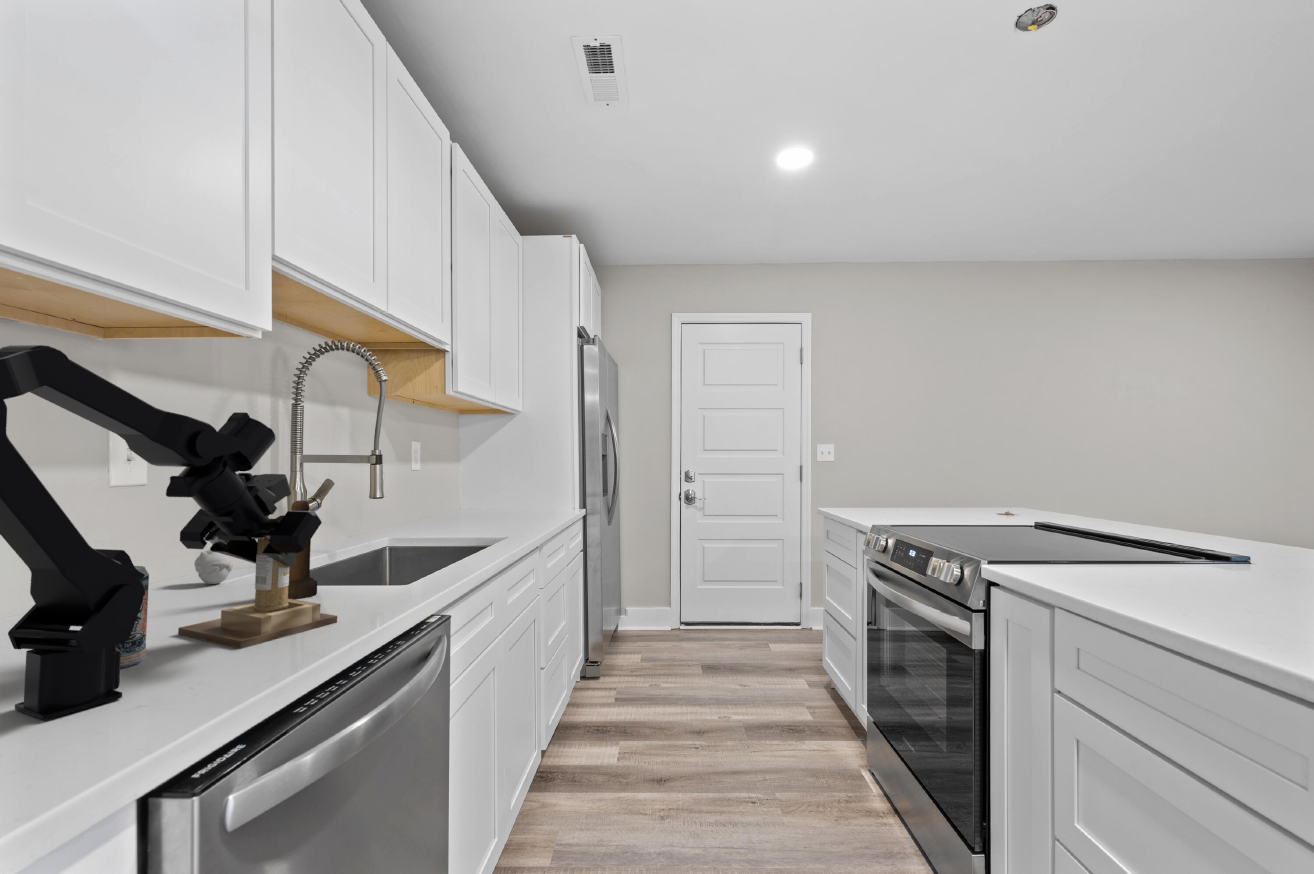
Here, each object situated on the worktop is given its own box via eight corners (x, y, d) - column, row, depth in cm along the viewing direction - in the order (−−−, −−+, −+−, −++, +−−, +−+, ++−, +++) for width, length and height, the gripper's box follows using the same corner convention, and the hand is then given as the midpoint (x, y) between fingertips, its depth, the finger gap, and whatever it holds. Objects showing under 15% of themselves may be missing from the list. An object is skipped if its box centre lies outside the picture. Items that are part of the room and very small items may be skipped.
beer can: (109, 673, 73) (114, 573, 74) (85, 667, 75) (90, 570, 75) (154, 660, 78) (158, 567, 78) (130, 656, 79) (134, 564, 80)
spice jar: (293, 608, 92) (297, 520, 93) (259, 614, 89) (263, 522, 89) (281, 604, 95) (285, 518, 96) (248, 609, 91) (252, 520, 92)
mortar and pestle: (270, 599, 111) (274, 501, 111) (283, 592, 117) (287, 499, 118) (310, 598, 112) (314, 501, 113) (321, 590, 119) (324, 499, 119)
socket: (240, 648, 83) (241, 622, 83) (178, 634, 89) (179, 610, 89) (337, 622, 97) (337, 600, 97) (277, 611, 103) (278, 590, 103)
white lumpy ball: (215, 579, 127) (216, 546, 128) (240, 582, 125) (241, 548, 126) (185, 585, 122) (186, 550, 122) (211, 588, 120) (212, 552, 120)
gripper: (315, 456, 88) (359, 525, 98) (201, 454, 90) (256, 521, 101) (271, 514, 80) (324, 583, 90) (147, 510, 82) (212, 578, 92)
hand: (279, 563), depth 93 cm, fingers closed on spice jar, 4 cm apart
